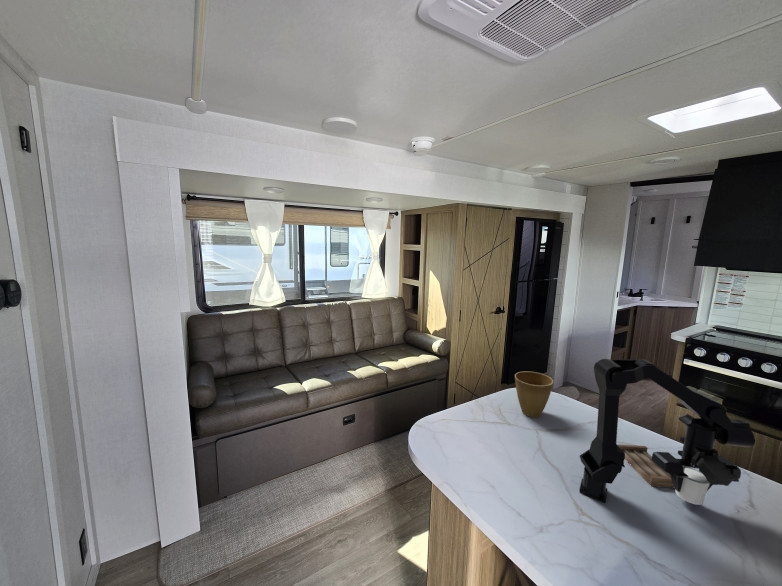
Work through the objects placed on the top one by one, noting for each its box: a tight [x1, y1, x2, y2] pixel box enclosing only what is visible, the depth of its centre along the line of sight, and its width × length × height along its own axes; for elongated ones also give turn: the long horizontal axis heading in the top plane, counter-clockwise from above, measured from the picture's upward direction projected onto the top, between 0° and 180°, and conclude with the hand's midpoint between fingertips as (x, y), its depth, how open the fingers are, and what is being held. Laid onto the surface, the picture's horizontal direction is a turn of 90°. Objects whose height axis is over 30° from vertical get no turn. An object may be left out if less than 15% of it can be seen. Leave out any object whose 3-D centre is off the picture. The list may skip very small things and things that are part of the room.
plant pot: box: [514, 370, 554, 418], centre depth 134 cm, size 15×15×16 cm
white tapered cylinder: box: [674, 468, 710, 506], centre depth 87 cm, size 7×7×7 cm
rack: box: [617, 443, 674, 488], centre depth 102 cm, size 16×9×3 cm, turn 175°
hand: (689, 491), depth 87 cm, fingers closed on white tapered cylinder, 6 cm apart
